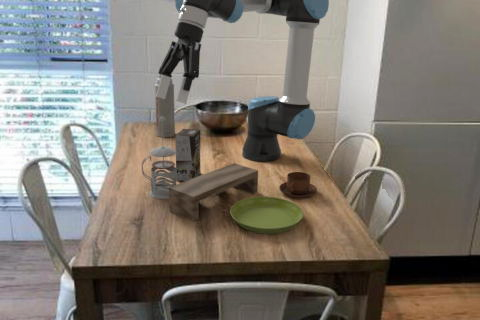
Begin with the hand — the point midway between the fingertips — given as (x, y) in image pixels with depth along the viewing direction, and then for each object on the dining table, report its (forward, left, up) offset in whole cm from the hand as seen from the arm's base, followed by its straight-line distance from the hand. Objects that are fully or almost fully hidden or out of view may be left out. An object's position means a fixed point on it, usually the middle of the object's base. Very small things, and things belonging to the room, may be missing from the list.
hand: (170, 100), depth 140 cm
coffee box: (-21, -15, -33) cm, 42 cm away
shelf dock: (-12, +6, -33) cm, 35 cm away
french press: (-5, -11, -33) cm, 35 cm away
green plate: (-12, +26, -33) cm, 44 cm away
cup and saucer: (-35, +21, -33) cm, 53 cm away
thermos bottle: (-50, -59, -33) cm, 84 cm away
